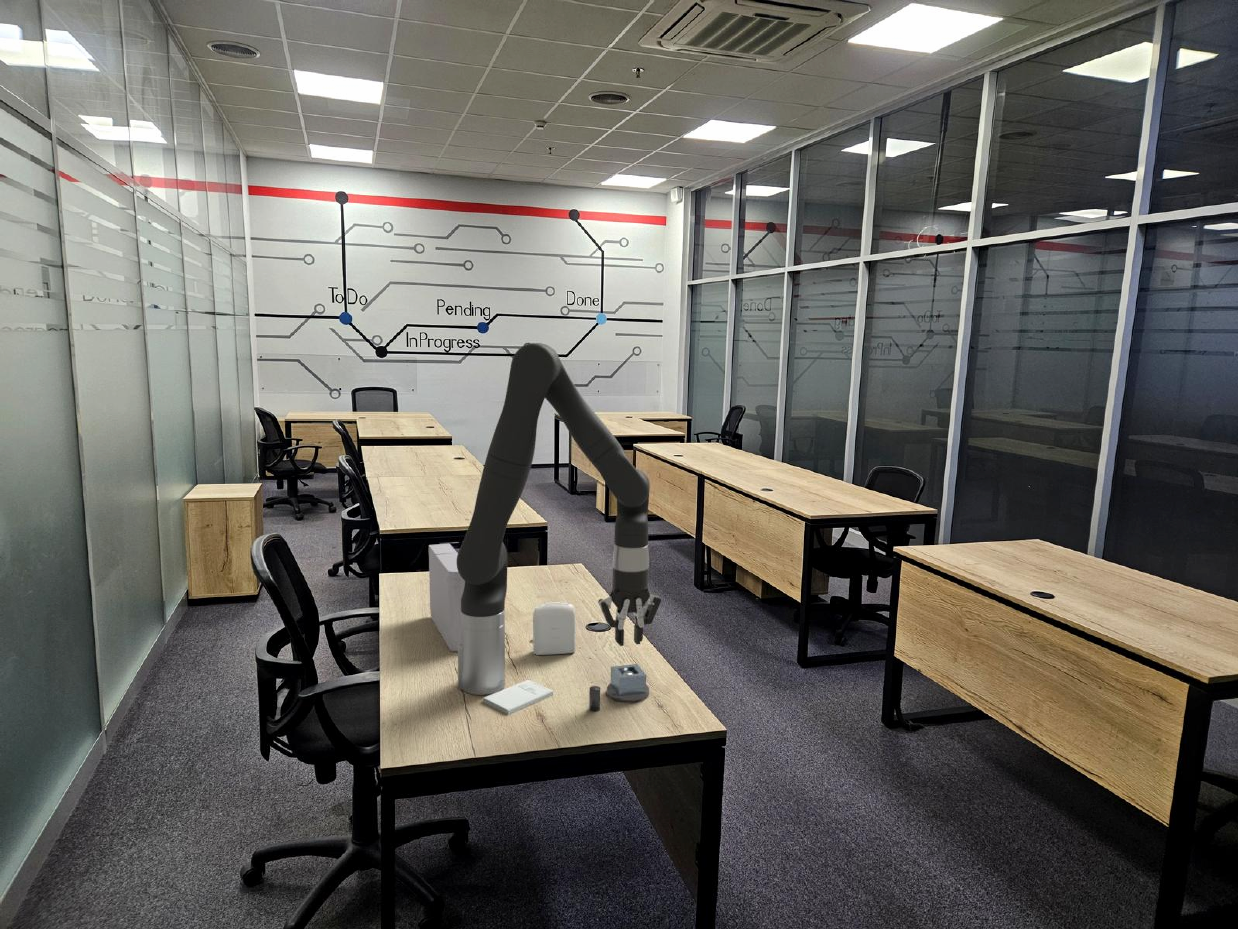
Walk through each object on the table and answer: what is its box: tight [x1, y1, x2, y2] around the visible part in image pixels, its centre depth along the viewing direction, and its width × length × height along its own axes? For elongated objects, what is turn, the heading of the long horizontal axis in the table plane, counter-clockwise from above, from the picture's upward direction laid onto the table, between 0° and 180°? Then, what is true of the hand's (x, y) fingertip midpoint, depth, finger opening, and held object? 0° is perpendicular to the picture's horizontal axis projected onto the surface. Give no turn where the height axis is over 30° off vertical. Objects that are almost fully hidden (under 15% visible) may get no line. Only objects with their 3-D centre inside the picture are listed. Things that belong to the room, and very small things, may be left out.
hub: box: [606, 671, 650, 703], centre depth 163 cm, size 9×9×4 cm
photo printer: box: [532, 601, 576, 656], centre depth 184 cm, size 10×4×12 cm, turn 100°
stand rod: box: [588, 685, 601, 713], centre depth 155 cm, size 2×2×4 cm
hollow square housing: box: [610, 663, 647, 696], centre depth 163 cm, size 6×6×4 cm
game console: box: [428, 542, 465, 652], centre depth 195 cm, size 6×27×20 cm, turn 24°
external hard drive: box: [482, 679, 554, 716], centre depth 160 cm, size 2×8×12 cm
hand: (628, 643), depth 162 cm, fingers open, 3 cm apart
